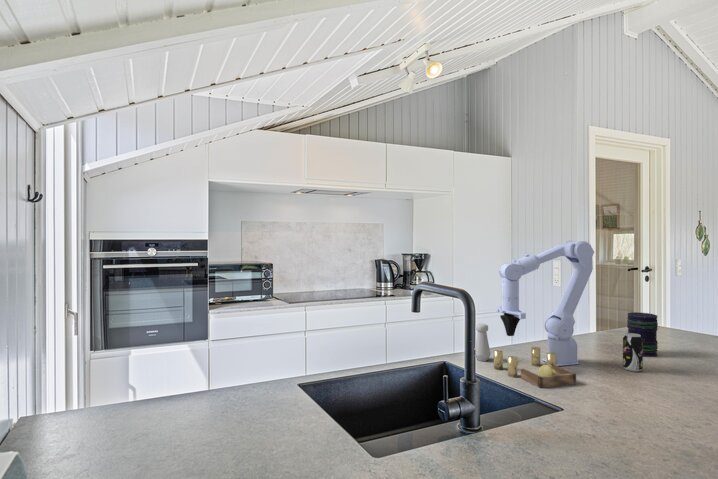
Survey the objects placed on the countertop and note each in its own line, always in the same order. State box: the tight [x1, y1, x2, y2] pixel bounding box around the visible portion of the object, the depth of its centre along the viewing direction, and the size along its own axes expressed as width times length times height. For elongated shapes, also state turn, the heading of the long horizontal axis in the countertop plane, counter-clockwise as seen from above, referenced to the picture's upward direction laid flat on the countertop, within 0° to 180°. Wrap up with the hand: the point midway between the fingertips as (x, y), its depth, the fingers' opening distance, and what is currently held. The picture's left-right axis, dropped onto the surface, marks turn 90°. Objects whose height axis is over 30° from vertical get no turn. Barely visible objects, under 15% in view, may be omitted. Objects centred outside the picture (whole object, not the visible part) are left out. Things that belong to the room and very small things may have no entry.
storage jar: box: [626, 311, 659, 358], centre depth 168 cm, size 10×10×15 cm
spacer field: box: [493, 346, 557, 378], centre depth 148 cm, size 18×11×6 cm, turn 106°
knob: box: [537, 364, 557, 377], centre depth 138 cm, size 5×5×5 cm
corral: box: [520, 366, 577, 389], centre depth 137 cm, size 13×9×3 cm
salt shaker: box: [475, 323, 491, 362], centre depth 161 cm, size 6×6×13 cm
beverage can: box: [622, 332, 644, 373], centre depth 148 cm, size 6×6×12 cm
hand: (510, 335), depth 156 cm, fingers closed
